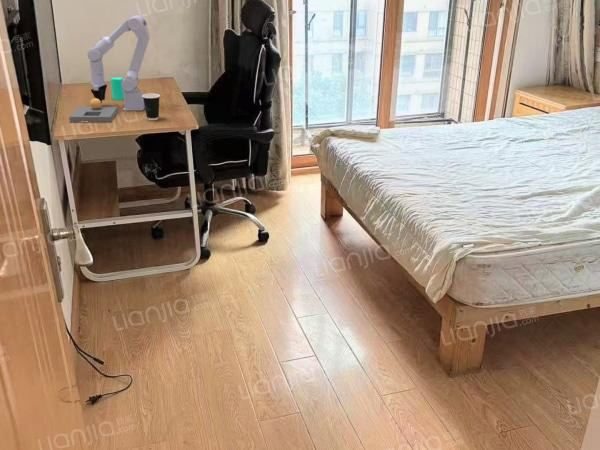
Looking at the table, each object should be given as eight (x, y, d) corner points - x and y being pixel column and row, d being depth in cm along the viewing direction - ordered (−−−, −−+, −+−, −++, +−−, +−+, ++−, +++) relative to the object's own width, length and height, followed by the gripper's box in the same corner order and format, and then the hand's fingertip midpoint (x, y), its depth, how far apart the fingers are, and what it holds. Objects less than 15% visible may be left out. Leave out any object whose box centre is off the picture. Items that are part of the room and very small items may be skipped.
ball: (102, 107, 288) (101, 97, 286) (100, 110, 283) (99, 99, 281) (91, 107, 287) (90, 97, 285) (89, 110, 283) (88, 99, 281)
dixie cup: (142, 120, 278) (140, 97, 274) (146, 116, 286) (144, 93, 281) (159, 121, 278) (157, 97, 274) (163, 116, 286) (161, 93, 281)
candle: (112, 100, 311) (110, 76, 305) (112, 97, 316) (110, 74, 311) (124, 99, 312) (122, 76, 307) (124, 97, 317) (122, 74, 312)
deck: (117, 111, 291) (117, 106, 290) (110, 122, 275) (110, 117, 274) (79, 111, 289) (78, 106, 288) (70, 122, 273) (69, 116, 272)
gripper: (92, 70, 295) (95, 98, 301) (85, 76, 282) (89, 105, 288) (107, 70, 296) (110, 98, 302) (101, 76, 283) (104, 105, 289)
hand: (100, 101), depth 295 cm, fingers open, 7 cm apart
